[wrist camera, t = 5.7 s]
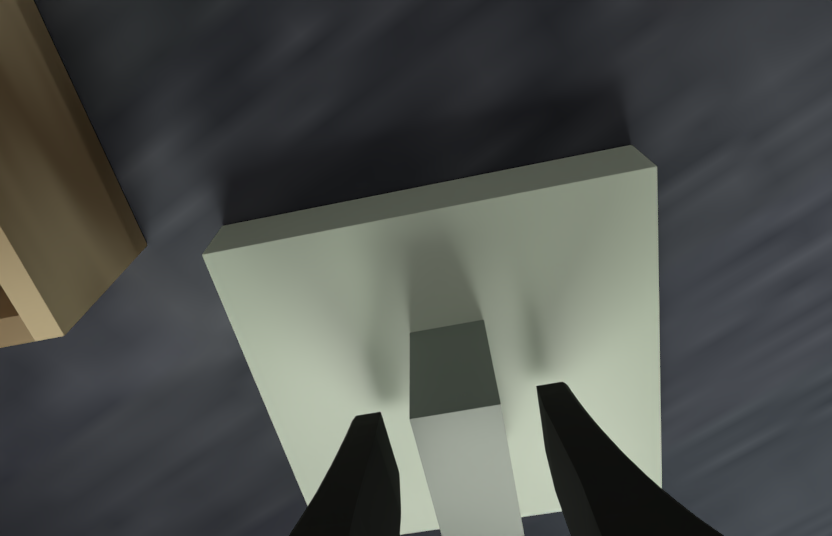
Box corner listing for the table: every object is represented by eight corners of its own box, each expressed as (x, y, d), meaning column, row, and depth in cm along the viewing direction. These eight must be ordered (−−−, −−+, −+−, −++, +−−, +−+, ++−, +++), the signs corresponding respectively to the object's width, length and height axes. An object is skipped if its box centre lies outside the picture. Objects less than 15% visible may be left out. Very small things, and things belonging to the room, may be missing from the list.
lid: (642, 454, 18) (709, 597, 14) (330, 502, 19) (309, 649, 15) (631, 144, 14) (725, 223, 10) (222, 225, 15) (149, 330, 10)
